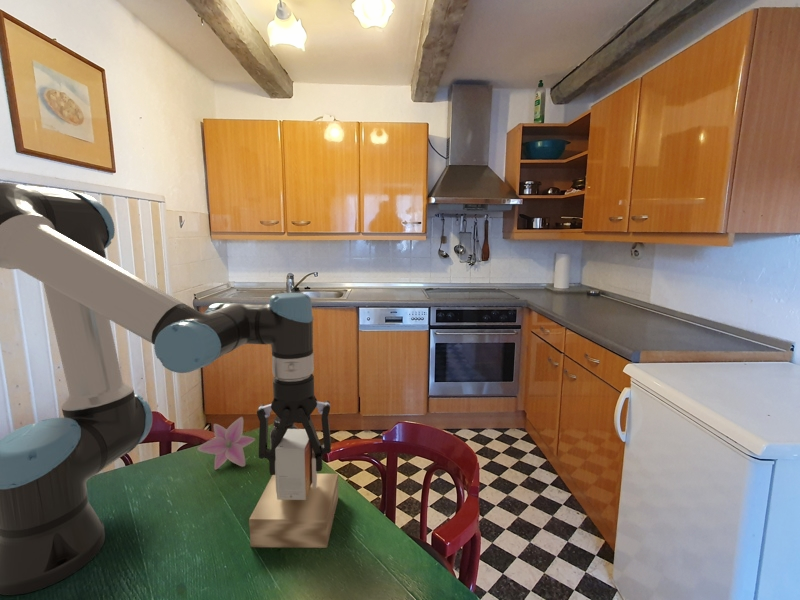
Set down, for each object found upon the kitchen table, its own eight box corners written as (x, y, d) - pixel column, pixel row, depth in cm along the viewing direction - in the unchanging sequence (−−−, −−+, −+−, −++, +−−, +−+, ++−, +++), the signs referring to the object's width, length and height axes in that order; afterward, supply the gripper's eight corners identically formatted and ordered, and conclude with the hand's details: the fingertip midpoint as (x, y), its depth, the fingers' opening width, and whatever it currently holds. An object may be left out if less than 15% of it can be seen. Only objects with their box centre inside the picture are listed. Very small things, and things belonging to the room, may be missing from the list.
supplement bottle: (304, 458, 100) (303, 414, 98) (290, 473, 94) (288, 426, 92) (281, 453, 102) (279, 410, 100) (265, 468, 96) (263, 422, 94)
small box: (305, 501, 73) (304, 449, 72) (276, 500, 73) (274, 448, 72) (315, 475, 81) (314, 428, 79) (288, 474, 81) (287, 427, 80)
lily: (192, 469, 97) (191, 447, 91) (219, 431, 106) (220, 409, 101) (238, 485, 97) (239, 463, 91) (260, 445, 106) (263, 424, 101)
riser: (250, 548, 71) (249, 519, 70) (274, 498, 85) (273, 473, 84) (327, 549, 71) (326, 519, 71) (338, 498, 85) (338, 473, 84)
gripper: (235, 384, 68) (241, 503, 72) (345, 379, 71) (346, 494, 75) (244, 370, 76) (250, 479, 79) (344, 366, 79) (345, 471, 82)
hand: (296, 486), depth 77 cm, fingers closed on small box, 6 cm apart
